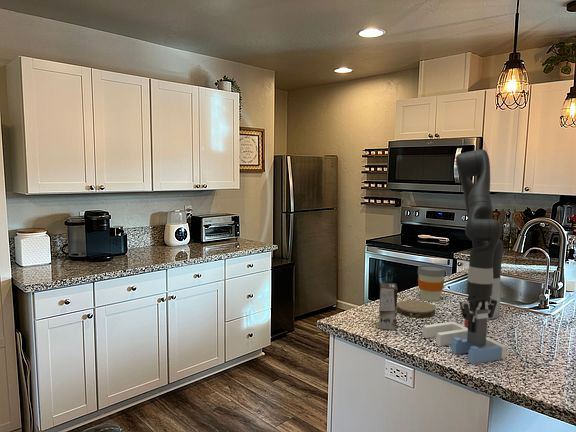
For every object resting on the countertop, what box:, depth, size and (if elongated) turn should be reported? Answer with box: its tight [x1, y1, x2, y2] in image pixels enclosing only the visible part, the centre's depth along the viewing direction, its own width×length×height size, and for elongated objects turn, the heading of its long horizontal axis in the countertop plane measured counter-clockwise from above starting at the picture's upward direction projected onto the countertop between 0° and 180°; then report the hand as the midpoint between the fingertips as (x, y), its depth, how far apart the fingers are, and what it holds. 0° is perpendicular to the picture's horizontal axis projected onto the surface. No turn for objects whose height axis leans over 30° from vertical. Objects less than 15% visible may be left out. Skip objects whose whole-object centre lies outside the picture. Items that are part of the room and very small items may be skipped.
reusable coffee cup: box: [417, 264, 446, 302], centre depth 203 cm, size 13×13×15 cm
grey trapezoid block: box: [467, 309, 488, 347], centre depth 140 cm, size 4×4×12 cm
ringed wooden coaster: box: [396, 300, 436, 319], centre depth 184 cm, size 16×16×3 cm
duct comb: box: [422, 320, 508, 365], centre depth 148 cm, size 14×24×5 cm, turn 21°
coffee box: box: [378, 282, 398, 331], centre depth 167 cm, size 9×6×16 cm
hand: (477, 330), depth 140 cm, fingers closed on grey trapezoid block, 4 cm apart
